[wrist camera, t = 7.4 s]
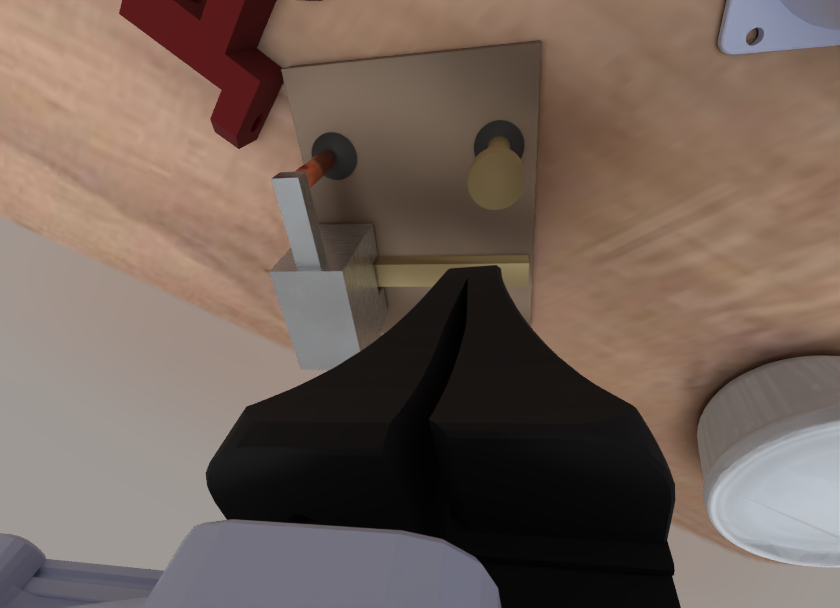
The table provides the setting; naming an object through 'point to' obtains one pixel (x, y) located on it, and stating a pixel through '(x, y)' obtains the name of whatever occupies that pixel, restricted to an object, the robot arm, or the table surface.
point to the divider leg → (325, 275)
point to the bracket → (218, 54)
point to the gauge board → (428, 161)
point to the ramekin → (776, 460)
